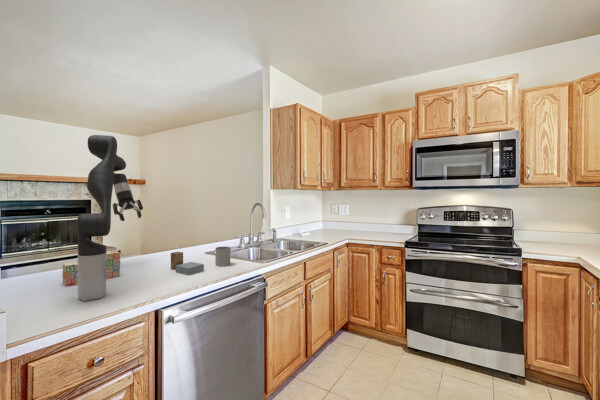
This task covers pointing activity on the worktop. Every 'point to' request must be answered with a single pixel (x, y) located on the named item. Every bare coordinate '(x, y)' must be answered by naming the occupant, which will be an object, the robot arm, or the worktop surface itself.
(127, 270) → the worktop surface
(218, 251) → the cup
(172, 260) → the walnut block
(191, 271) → the slate block
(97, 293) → the robot arm
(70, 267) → the stack of blocks
